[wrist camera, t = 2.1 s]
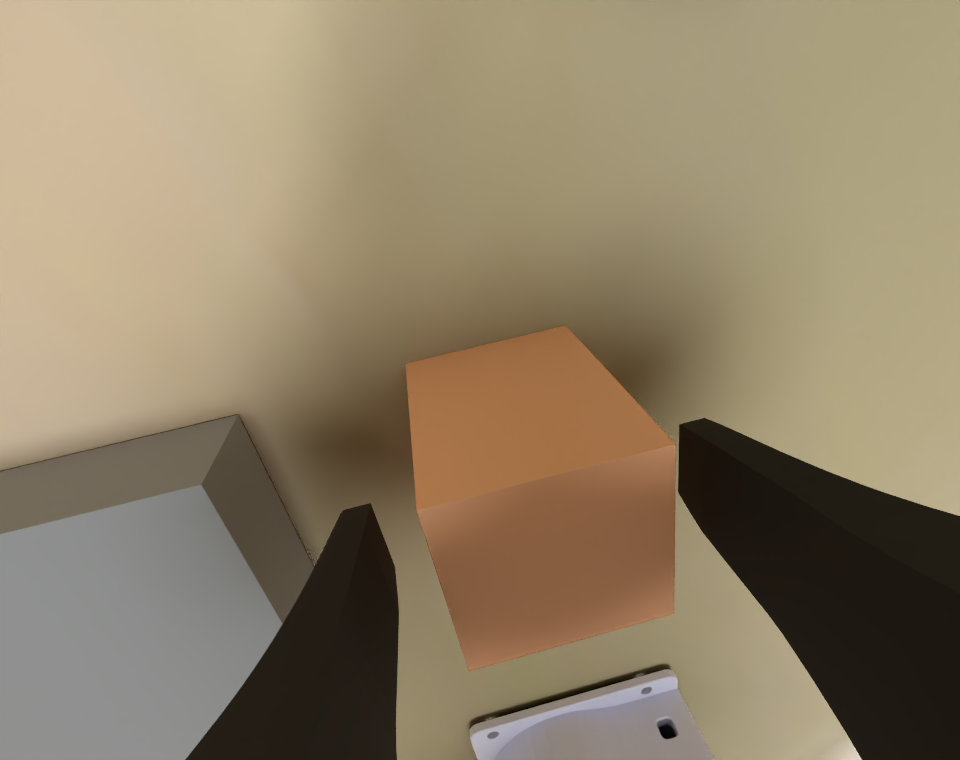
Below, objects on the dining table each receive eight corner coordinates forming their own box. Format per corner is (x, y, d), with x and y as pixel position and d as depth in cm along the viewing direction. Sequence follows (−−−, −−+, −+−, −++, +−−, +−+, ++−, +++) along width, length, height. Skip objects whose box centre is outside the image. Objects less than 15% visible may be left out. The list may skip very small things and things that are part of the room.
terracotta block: (565, 325, 14) (675, 443, 9) (579, 454, 16) (673, 613, 11) (405, 362, 14) (416, 511, 8) (441, 489, 16) (469, 671, 10)
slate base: (238, 414, 13) (200, 484, 11) (350, 641, 18) (343, 728, 15) (-150, 507, 13) (-292, 606, 10) (71, 716, 17) (14, 822, 15)
